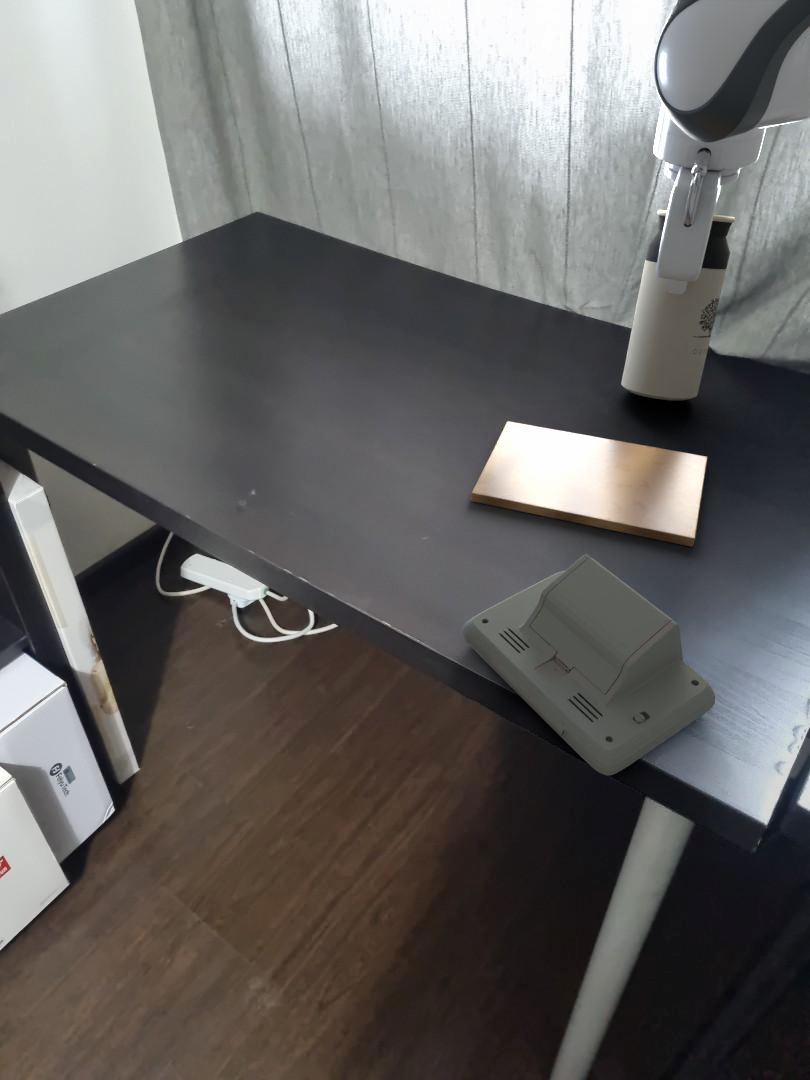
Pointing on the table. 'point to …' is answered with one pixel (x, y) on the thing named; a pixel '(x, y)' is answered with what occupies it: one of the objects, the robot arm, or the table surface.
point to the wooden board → (595, 482)
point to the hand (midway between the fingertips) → (676, 288)
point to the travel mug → (675, 322)
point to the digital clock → (593, 663)
